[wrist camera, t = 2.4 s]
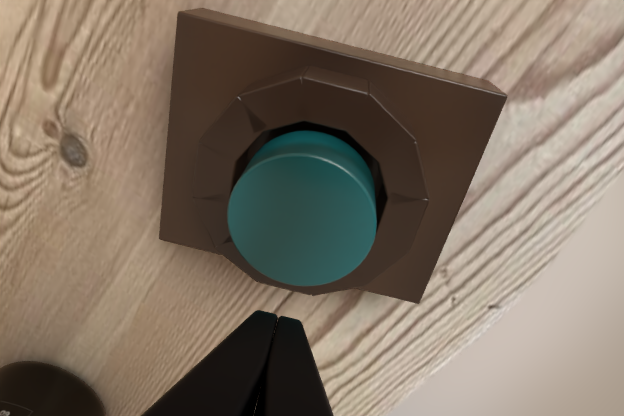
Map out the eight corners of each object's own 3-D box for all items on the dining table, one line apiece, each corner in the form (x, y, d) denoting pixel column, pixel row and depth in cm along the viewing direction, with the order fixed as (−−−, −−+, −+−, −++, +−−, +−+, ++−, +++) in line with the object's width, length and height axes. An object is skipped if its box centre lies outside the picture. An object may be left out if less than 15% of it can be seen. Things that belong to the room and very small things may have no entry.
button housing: (490, 80, 15) (528, 110, 12) (413, 271, 19) (425, 338, 15) (200, 7, 15) (151, 14, 12) (179, 213, 19) (136, 267, 15)
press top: (392, 148, 13) (397, 176, 11) (354, 262, 15) (353, 302, 13) (255, 114, 13) (238, 136, 11) (235, 232, 15) (217, 268, 13)
